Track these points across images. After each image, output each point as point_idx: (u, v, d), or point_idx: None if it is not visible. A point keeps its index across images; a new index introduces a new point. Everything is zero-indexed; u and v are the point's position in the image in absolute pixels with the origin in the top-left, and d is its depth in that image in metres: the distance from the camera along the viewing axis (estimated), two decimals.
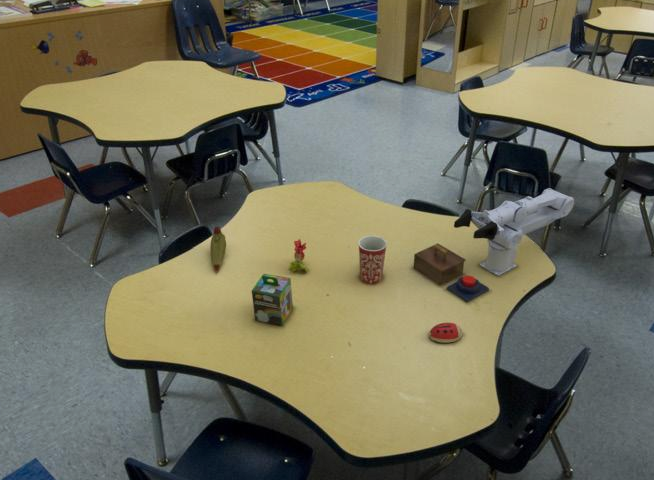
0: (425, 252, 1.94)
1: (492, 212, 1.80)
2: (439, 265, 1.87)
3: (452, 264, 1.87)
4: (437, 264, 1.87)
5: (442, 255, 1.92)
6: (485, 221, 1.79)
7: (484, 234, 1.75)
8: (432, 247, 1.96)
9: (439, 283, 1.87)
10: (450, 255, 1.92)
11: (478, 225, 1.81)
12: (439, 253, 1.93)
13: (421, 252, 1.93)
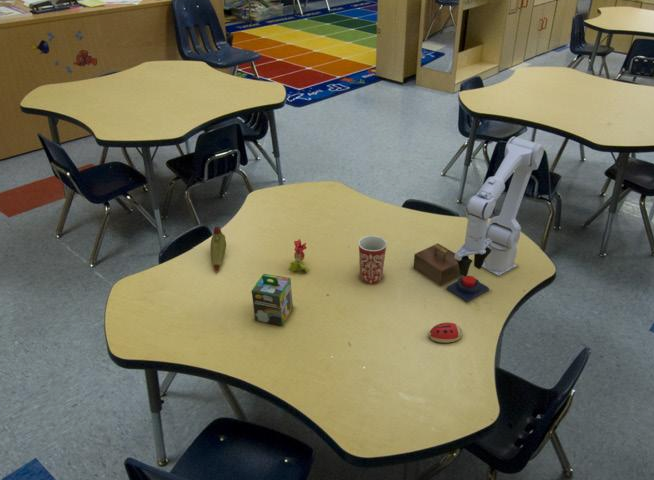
0: (425, 252, 1.94)
1: (482, 242, 1.73)
2: (439, 265, 1.87)
3: (452, 264, 1.87)
4: (437, 264, 1.87)
5: (442, 255, 1.92)
6: None
7: None
8: (432, 247, 1.96)
9: (439, 283, 1.87)
10: (450, 255, 1.92)
11: None
12: (439, 253, 1.93)
13: (421, 252, 1.93)
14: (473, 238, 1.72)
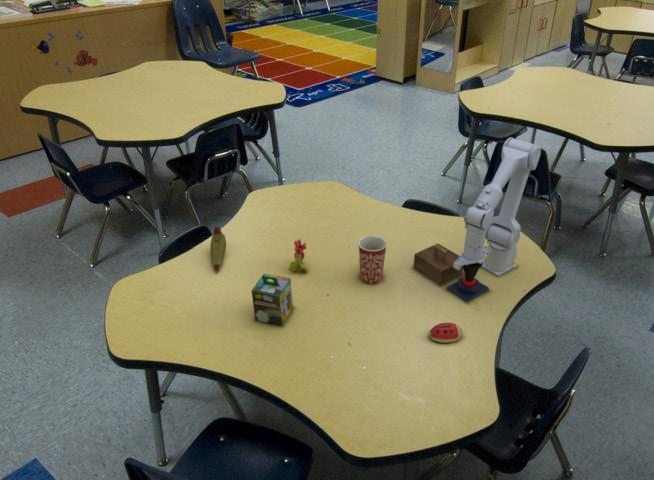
0: (425, 252, 1.94)
1: (481, 252, 1.75)
2: (439, 265, 1.87)
3: (452, 264, 1.87)
4: (437, 264, 1.87)
5: (442, 255, 1.92)
6: None
7: None
8: (432, 247, 1.96)
9: (439, 283, 1.87)
10: (450, 255, 1.92)
11: None
12: (439, 253, 1.93)
13: (421, 252, 1.93)
14: (472, 247, 1.74)
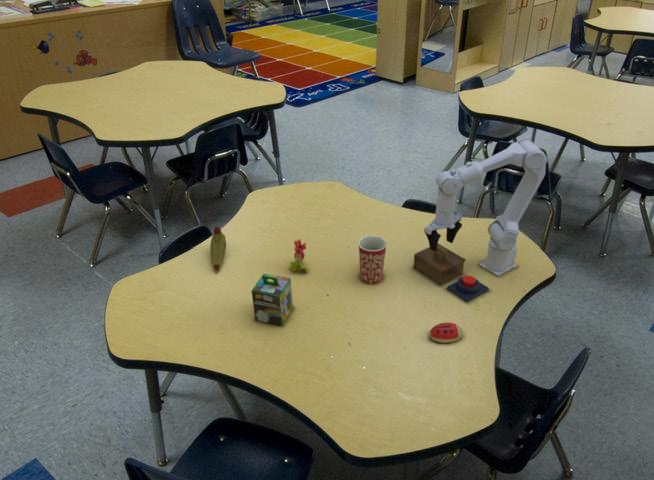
0: (425, 252, 1.94)
1: (451, 217, 1.81)
2: (439, 265, 1.87)
3: (452, 264, 1.87)
4: (437, 264, 1.87)
5: (442, 255, 1.92)
6: None
7: None
8: None
9: (439, 283, 1.87)
10: (450, 255, 1.92)
11: None
12: (439, 253, 1.93)
13: (421, 252, 1.93)
14: (442, 213, 1.80)
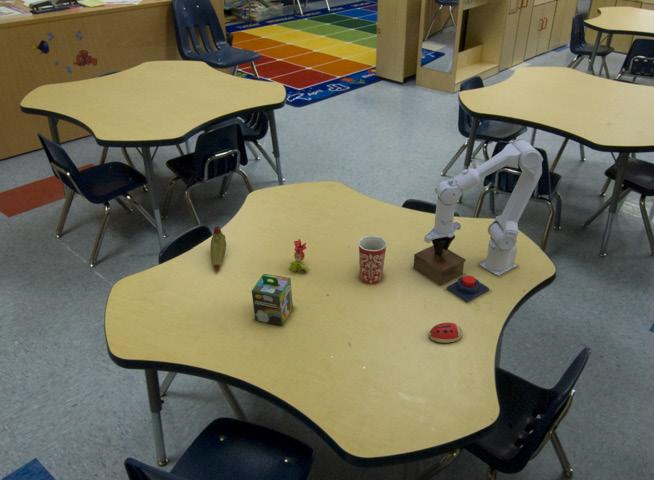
0: (425, 252, 1.94)
1: (450, 226, 1.83)
2: (439, 265, 1.87)
3: (452, 264, 1.87)
4: (437, 264, 1.87)
5: (442, 255, 1.92)
6: None
7: None
8: (432, 247, 1.96)
9: (439, 283, 1.87)
10: (450, 255, 1.92)
11: None
12: None
13: (421, 252, 1.93)
14: (441, 222, 1.82)
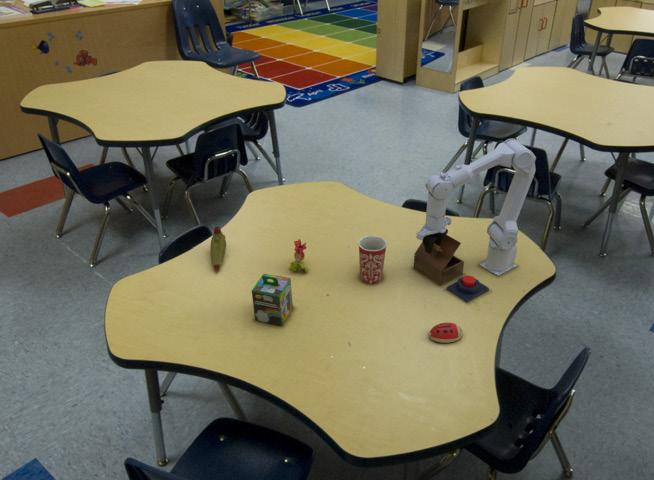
0: (423, 247, 1.92)
1: (442, 221, 1.79)
2: (438, 263, 1.86)
3: (449, 256, 1.84)
4: (436, 262, 1.87)
5: None
6: None
7: None
8: None
9: (439, 283, 1.87)
10: (445, 242, 1.87)
11: None
12: None
13: (420, 249, 1.92)
14: (433, 217, 1.78)
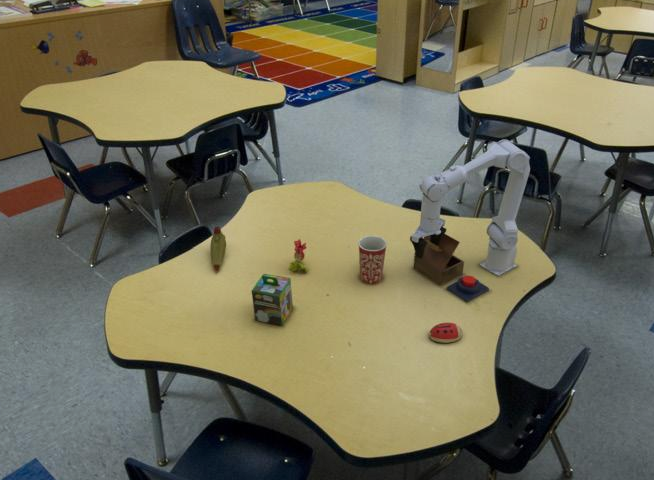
0: None
1: (437, 223, 1.78)
2: (437, 262, 1.86)
3: (448, 256, 1.84)
4: (435, 262, 1.86)
5: None
6: None
7: None
8: None
9: (439, 283, 1.87)
10: (444, 241, 1.86)
11: None
12: None
13: None
14: (428, 219, 1.76)
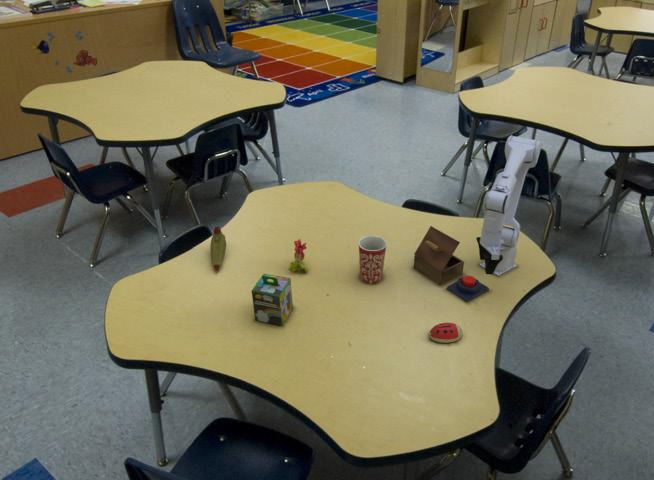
0: (422, 247, 1.91)
1: None
2: (437, 262, 1.86)
3: (448, 256, 1.84)
4: (435, 262, 1.86)
5: (437, 245, 1.88)
6: None
7: None
8: (427, 235, 1.91)
9: (439, 283, 1.87)
10: (444, 241, 1.86)
11: None
12: (434, 242, 1.89)
13: (419, 249, 1.92)
14: (499, 232, 1.71)
